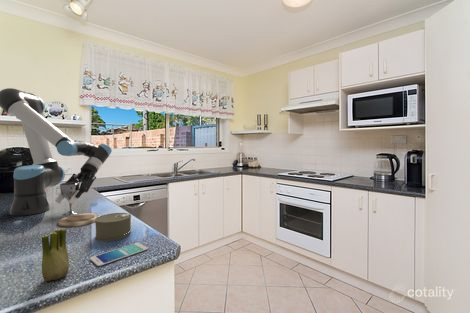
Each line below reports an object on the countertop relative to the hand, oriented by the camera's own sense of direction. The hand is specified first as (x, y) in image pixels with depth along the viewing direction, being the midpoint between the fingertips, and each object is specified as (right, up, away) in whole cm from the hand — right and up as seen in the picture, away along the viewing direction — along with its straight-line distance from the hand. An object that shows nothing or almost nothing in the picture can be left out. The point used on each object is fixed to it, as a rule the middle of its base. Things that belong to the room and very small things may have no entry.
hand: (63, 202), depth 112 cm
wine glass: (+1, -6, +3) cm, 7 cm away
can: (+37, -7, -25) cm, 46 cm away
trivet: (+14, -6, -8) cm, 17 cm away
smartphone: (+48, -8, -41) cm, 63 cm away
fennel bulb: (+38, -8, -54) cm, 66 cm away
